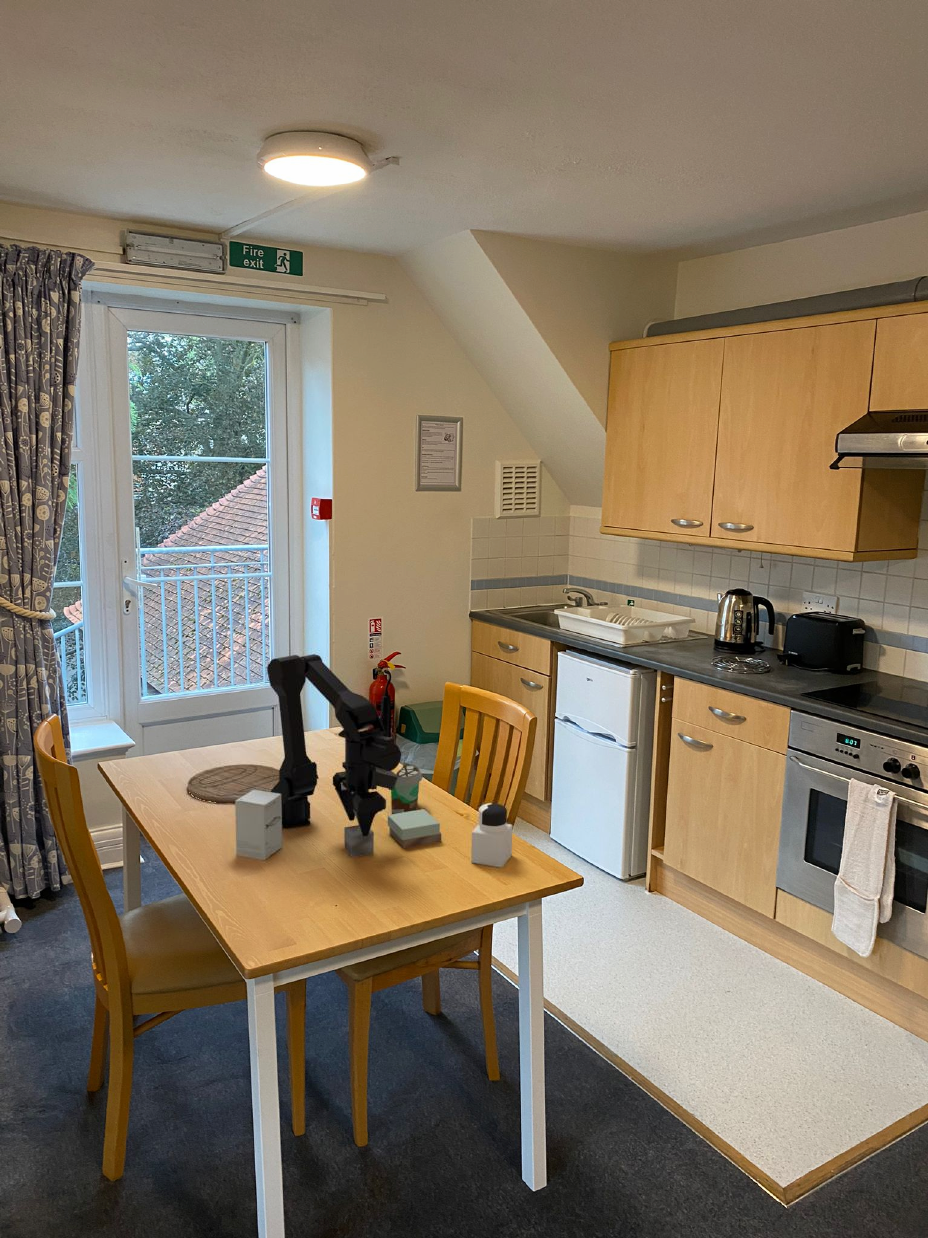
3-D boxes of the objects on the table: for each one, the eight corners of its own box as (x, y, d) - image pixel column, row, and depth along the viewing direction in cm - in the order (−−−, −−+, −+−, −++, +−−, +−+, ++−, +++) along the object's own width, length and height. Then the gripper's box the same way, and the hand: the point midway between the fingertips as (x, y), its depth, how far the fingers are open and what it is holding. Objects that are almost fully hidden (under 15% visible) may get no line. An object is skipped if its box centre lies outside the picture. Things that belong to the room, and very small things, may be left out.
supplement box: (265, 861, 199) (263, 805, 196) (235, 855, 201) (233, 800, 199) (283, 848, 205) (282, 793, 203) (254, 842, 208) (253, 788, 206)
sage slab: (402, 840, 206) (402, 829, 205) (387, 825, 214) (387, 815, 213) (439, 833, 210) (439, 823, 209) (423, 819, 218) (423, 809, 217)
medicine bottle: (512, 855, 204) (513, 803, 202) (502, 868, 197) (504, 814, 195) (481, 850, 206) (482, 798, 204) (470, 863, 200) (471, 810, 197)
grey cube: (351, 857, 201) (351, 836, 200) (344, 848, 206) (344, 827, 205) (373, 854, 203) (373, 832, 203) (366, 845, 208) (366, 824, 207)
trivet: (306, 783, 246) (306, 776, 246) (236, 813, 225) (236, 805, 225) (238, 765, 259) (238, 758, 259) (166, 791, 239) (166, 784, 238)
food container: (414, 820, 222) (415, 780, 220) (389, 818, 223) (390, 778, 221) (427, 801, 234) (427, 763, 232) (403, 799, 235) (403, 761, 233)
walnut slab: (403, 850, 207) (404, 839, 206) (389, 835, 215) (389, 825, 214) (441, 843, 210) (441, 833, 210) (425, 829, 218) (425, 819, 218)
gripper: (409, 768, 196) (408, 838, 199) (379, 742, 213) (378, 807, 215) (358, 775, 191) (358, 847, 194) (331, 748, 208) (332, 814, 211)
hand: (358, 828), depth 204 cm, fingers open, 9 cm apart
